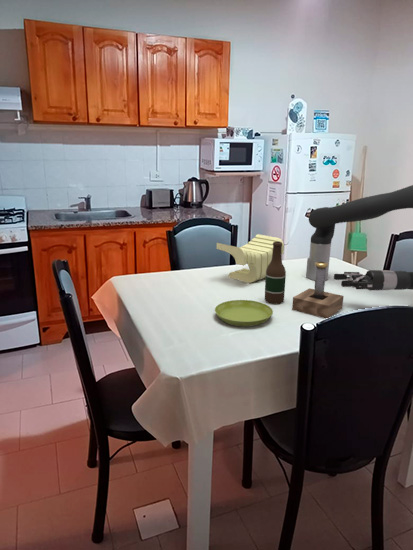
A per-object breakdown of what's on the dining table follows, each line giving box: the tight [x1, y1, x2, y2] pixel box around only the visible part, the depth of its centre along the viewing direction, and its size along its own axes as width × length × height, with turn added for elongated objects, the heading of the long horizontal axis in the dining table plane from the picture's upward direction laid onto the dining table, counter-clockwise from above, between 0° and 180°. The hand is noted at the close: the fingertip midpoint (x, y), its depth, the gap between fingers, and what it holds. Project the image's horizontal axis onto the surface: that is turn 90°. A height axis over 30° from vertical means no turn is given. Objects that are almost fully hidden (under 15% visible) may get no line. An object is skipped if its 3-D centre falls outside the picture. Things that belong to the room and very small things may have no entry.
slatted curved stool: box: [216, 233, 285, 284], centre depth 194 cm, size 30×16×18 cm, turn 136°
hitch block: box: [291, 288, 344, 320], centre depth 157 cm, size 14×14×5 cm
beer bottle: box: [264, 242, 287, 305], centre depth 162 cm, size 8×8×24 cm
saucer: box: [214, 299, 274, 328], centre depth 149 cm, size 21×21×3 cm
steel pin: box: [313, 262, 328, 300], centre depth 155 cm, size 5×5×18 cm
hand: (337, 280), depth 155 cm, fingers open, 8 cm apart
